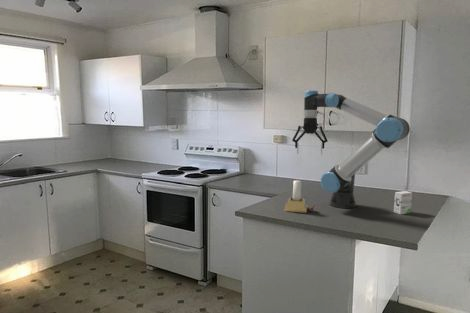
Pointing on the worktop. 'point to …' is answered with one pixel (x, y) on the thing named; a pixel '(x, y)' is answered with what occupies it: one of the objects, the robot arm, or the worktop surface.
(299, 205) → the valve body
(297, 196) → the pipe stub
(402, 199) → the ink box
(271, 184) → the worktop surface
